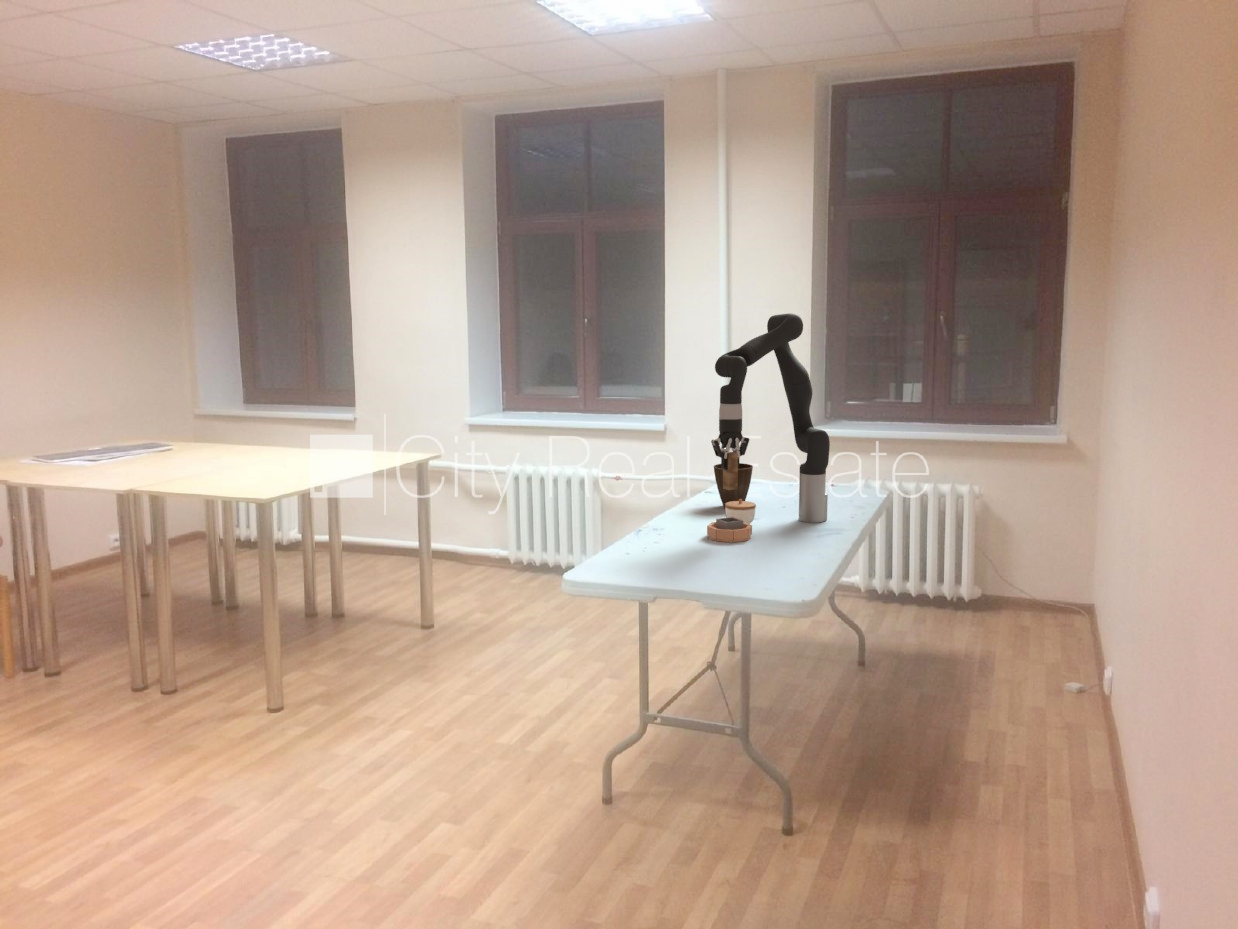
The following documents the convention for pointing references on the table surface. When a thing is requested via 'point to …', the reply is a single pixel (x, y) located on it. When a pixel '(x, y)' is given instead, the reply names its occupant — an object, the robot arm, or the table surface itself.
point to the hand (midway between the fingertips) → (730, 468)
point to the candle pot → (729, 530)
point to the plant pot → (743, 483)
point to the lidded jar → (740, 510)
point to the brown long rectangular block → (731, 472)
